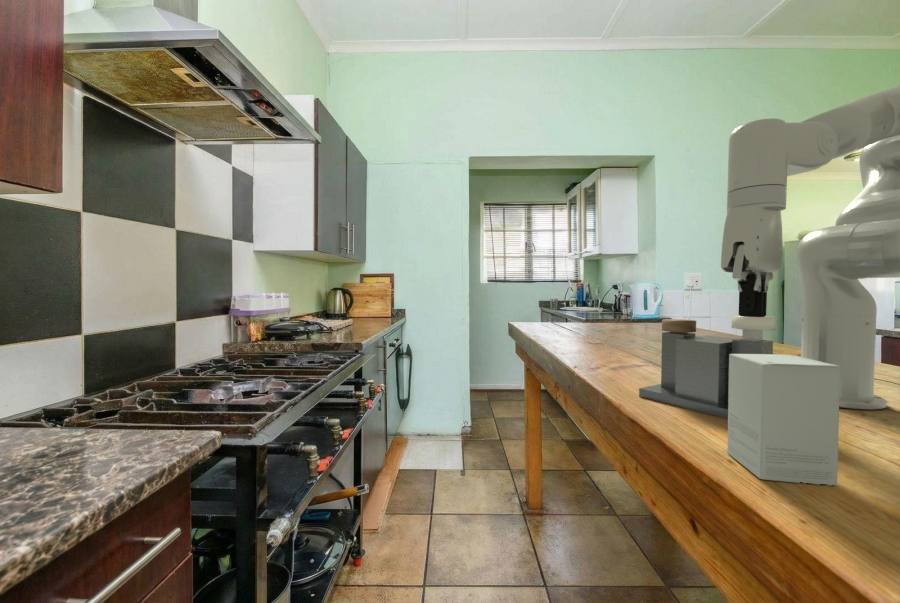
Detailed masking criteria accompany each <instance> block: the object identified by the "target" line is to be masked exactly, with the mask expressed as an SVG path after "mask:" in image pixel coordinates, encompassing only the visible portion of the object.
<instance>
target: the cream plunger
mask: <svg viewBox="0 0 900 603" xmlns="http://www.w3.org/2000/svg"><path fill="white" fill-rule="evenodd" d="M731 329H734V330H742V335H741V336H742V337H741V339H742V340H744V341H754V342H762V341H763V340H764V335H763V334H764V331H776V316H772V315H771V316H769V315H768V316H767V315H766V316H765V317H747V316H740V315H739V314H738V315H736V314H734V315H731Z"/></svg>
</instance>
